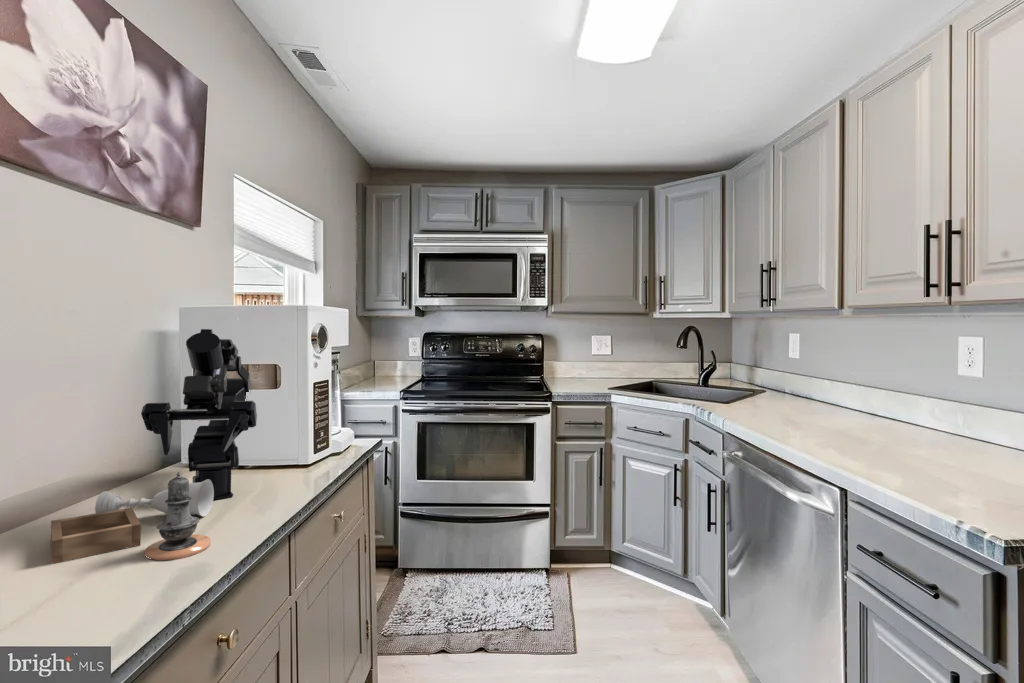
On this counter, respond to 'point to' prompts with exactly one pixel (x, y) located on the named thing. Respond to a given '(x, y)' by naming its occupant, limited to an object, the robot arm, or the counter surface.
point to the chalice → (162, 500)
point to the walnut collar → (94, 534)
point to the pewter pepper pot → (178, 517)
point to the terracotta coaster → (158, 554)
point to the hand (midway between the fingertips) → (194, 452)
